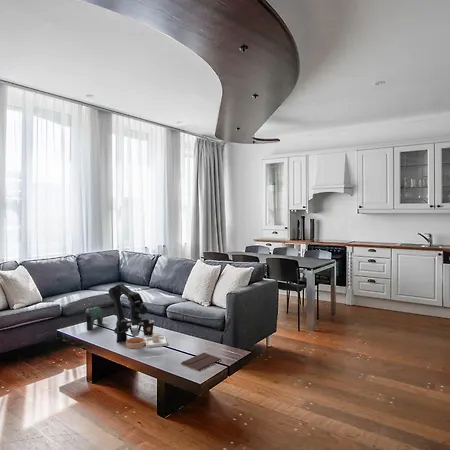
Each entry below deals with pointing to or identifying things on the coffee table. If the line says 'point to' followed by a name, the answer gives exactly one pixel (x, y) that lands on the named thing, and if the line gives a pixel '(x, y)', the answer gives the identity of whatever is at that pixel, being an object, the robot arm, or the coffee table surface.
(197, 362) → the notebook
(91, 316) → the green animal figure
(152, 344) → the tray
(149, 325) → the coffee mug
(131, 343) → the terracotta bowl
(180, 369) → the coffee table surface
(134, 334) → the grey block
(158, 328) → the coffee table surface
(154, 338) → the taupe block
